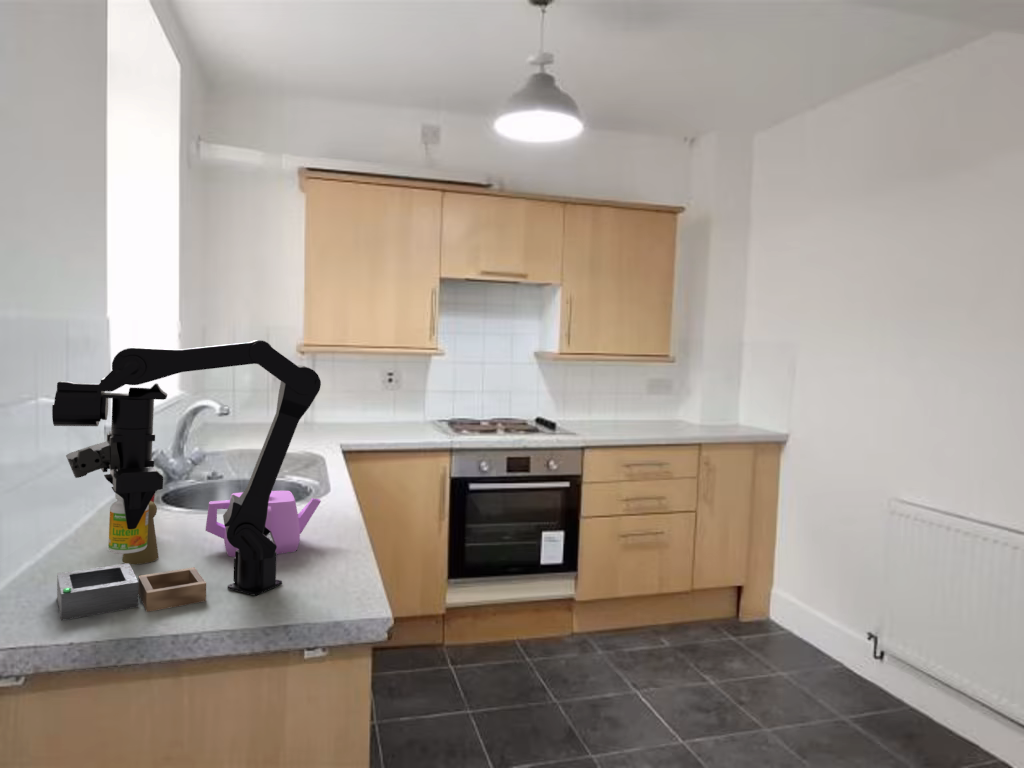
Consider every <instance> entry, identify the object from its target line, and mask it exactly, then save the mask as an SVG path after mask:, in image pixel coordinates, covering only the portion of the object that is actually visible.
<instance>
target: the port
mask: <svg viewBox="0 0 1024 768" xmlns="http://www.w3.org/2000/svg"><path fill="white" fill-rule="evenodd" d="M137 578H138V577H136V574H135V572H134V570H133V568H132V565H131V564H129V563H121V564H119V563H118V564H113V565H105V566H101V567H100V566H99V567H92V568H84V569H79V570H70V571H64V572H57V573H56V599H57V604H58V611H59V616H60V621H68V620H72V619H79V618H84V617H90V616H97V615H100V614H106V613H112V612H117V611H123V610H129V609H134V608H138V607H139V594H138V579H137Z"/></svg>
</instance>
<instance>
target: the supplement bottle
mask: <svg viewBox="0 0 1024 768" xmlns="http://www.w3.org/2000/svg"><path fill="white" fill-rule="evenodd" d="M114 496H115V499H116V501H115V502H113V503H112V504H111V505H110V506H109V507H110V508H109V518H108V519H109V522H108V525H109V527H108V550H109V552H111V553H114V554H120V555H123V554H127V553H135V552H139V551H142V550H144V549H145V548H146V547H147V539H148V515H149V505H148V506H147V508H146V510H145V512H144V514H143V516H142V517H141V519H140V521H139V523H138V525H137V527H136V528H135V529H128V528H127V523H126V517H125V511H124V505H123V499H122V497H120V496H119V495H118V494H116V493H115V495H114Z"/></svg>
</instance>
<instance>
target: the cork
mask: <svg viewBox="0 0 1024 768" xmlns="http://www.w3.org/2000/svg"><path fill="white" fill-rule="evenodd" d="M148 505H149V515H148V539H147V547H146V548H145V549H144V550H142V551H139V552H135V553H127V554H122V559H121V561H122V564H126V563H129V564H130V565H143V564H144V565H145V564H149V563H151V562H153V563H154V562H155V561H157V560H158V559H159V551H158V542H157V533H156V528H155V519H154V518H155V517H156V515H157V512H158V508H157V504H156V503H155V501H154V502H152V501H150V503H149V504H148Z"/></svg>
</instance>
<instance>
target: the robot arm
mask: <svg viewBox="0 0 1024 768" xmlns="http://www.w3.org/2000/svg"><path fill="white" fill-rule="evenodd" d="M245 365H258V366H260V367H261V368H263V369H264V370H265V371H267V372H268V373H269V374H270V375H272V376H274V377H275V378H276V379H278V380H279V381H280V385H279V390H278V396H277V402H276V403H277V404H276V411H275V414H274V417H273V420H272V422H271V425H270V427H269V430H268V432H267V435H266V437H265V440H264V443H263V445H262V448H261V450H260V452H259V455H258V458H257V461H256V462H255V463H256V464H255V466H254V469H253V472H252V473H251V476H250V478H249V481H248V484H247V486H246V488H245V489H244V490H243V493H242V495H241V496H240V497H237V496H235V495H232V494H230V497H231V499H229V500H230V505H229V508H228V509H226V511H225V512H224V513H223V515H222V519H223V525H224V526H225V528H226V534H227V539H228V541H229V543H230V544H231V545H232V546H233V547H235V548H238V549H239V550H237V551H235V557H234V558H233V578H232V579H233V583H230V584H228V585H227V589H228V590H232V591H235V592H239V593H243V594H248V595H252V596H258V595H261V594H262V593H266V592H267V591H269V590H272V589H274V588H276V587H279V586H280V585H282V584H283V581H282V580H281V579H277V554H276V553H277V552H275V550H276V548H277V546H276V543H275V541H274V538H273V535H272V532H271V531H270V530H269V529H267V528H266V527H265V524H266V518H267V511H268V502H269V497H270V494H271V491H273V489H274V486H275V483H276V481H277V478H278V475H279V473H280V470H281V467H282V465H283V463H284V460H285V458H286V455H287V452H288V450H289V448H290V445H291V442H292V439H293V437H294V434H295V432H296V429H297V427H298V424H299V422H300V420H301V419H302V417H303V416H305V415H304V414H305V413H306V412H307V410H309V408H310V407H311V405H312V404H313V402H314V400H315V399H316V397H317V396H318V394H319V392H320V390H321V386H322V384H321V383H322V382H321V379H320V377H319V374H318V373H317V372H316V371H315V370H313V368H310V367H308V366H305V365H300V364H298V365H297V364H296V363H294V362H293V361H291V360H290V359H289V358H287V357H286V356H284V355H283V354H282V353H280V352H279V351H277V350H276V349H274V348H273V347H272V345H271V344H270V343H269V342H267V341H265V340H262V339H256V340H255V339H253V340H252V341H248V342H238V343H230V344H229V343H228V344H218V345H211V346H209V345H208V346H200V347H189V348H180V349H177V348H176V349H175V348H163V347H160V348H159V347H146V346H133V347H128V348H125V349H122V350H120V351H119V352H117V354H115V356H114V357H113V360H112V362H111V371H110V372H109V373H108V374H107V375H106V376H104V377H102V378H101V379H100V383H92V382H86V383H85V382H74V381H67V380H61V381H58V382H57V384H56V392H55V396H54V402H53V404H52V406H51V412H52V413H51V415H52V419H51V420H52V423H53V427H99V424H100V423H101V420H102V421H106V420H107V419H108V415H109V414H108V413H109V399H111V400H112V402H111V405H112V408H111V424H110V425H111V426H110V427H111V428H110V430H109V432H108V433H107V434H106V441H103V442H100V443H96V444H93V445H90V446H87V447H84V448H80V449H78V450H75V451H71V452H69V453H66V455H65V457H66V459H67V461H68V465H69V466H70V469H71V471H72V473H73V476H74V478H75V479H78V478H79V479H80V478H82V477H86V476H87V475H88V474H89V473H92V472H95V471H98V470H99V471H100V470H101V471H102V473H107V472H108V471H109V472H110V473H107V474H104V475H103V476H104V478H105V480H107V481H108V483H110V484H111V485H112V486H111V490H112V491H113V492H114V493H115V494H118V495H119V496H120V497H122V499H123V505H124V511H125V517H126V523H127V528H128V529H135V528H136V527H137V525H138V523H139V521H140V519H141V517H142V516H143V514H144V512H145V510H146V508H147V506H148V504H149V503H150V501H151V499H152V497H153V496H154V494H155V493H157V491H159V490H163V488H164V476H163V475H162V474H161V473H160V472H159V471H158V470H156V468H155V460H154V459H153V442H156V434H155V433H154V432H153V431H154V411H155V409H154V407H155V403H154V402H155V400H166V399H167V397H168V393H167V392H165V391H164V390H163V389H162V388H161V386H159V383H153V385H152V386H151V387H129V390H128V392H123V393H122V392H117V393H115V392H114V391H116V390H118V389H120V388H122V387H123V386H125V385H128V386H138V385H143V384H146V383H149V382H153V381H156V380H161V379H163V378H167V377H169V376H172V375H173V376H174V375H176V374H180V373H186V372H194V371H202V370H203V371H204V370H211V369H220V368H228V367H237V366H239V367H240V366H245ZM154 468H155V469H154ZM154 497H155V496H154Z"/></svg>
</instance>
